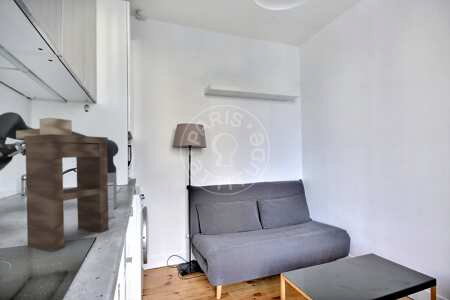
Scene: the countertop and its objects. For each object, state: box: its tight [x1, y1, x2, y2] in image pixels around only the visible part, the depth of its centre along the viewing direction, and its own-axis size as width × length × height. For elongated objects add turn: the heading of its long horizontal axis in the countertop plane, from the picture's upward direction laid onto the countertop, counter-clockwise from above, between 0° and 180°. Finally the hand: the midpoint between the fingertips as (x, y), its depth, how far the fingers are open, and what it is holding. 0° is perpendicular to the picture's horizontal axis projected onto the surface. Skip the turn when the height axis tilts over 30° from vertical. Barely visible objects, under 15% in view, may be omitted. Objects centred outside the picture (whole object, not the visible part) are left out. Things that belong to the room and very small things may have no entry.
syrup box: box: [108, 183, 115, 220], centre depth 91 cm, size 6×6×14 cm
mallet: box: [15, 117, 73, 140], centre depth 70 cm, size 6×20×5 cm, turn 69°
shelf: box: [24, 134, 110, 253], centre depth 71 cm, size 18×12×32 cm, turn 159°
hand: (17, 136), depth 74 cm, fingers open, 8 cm apart
